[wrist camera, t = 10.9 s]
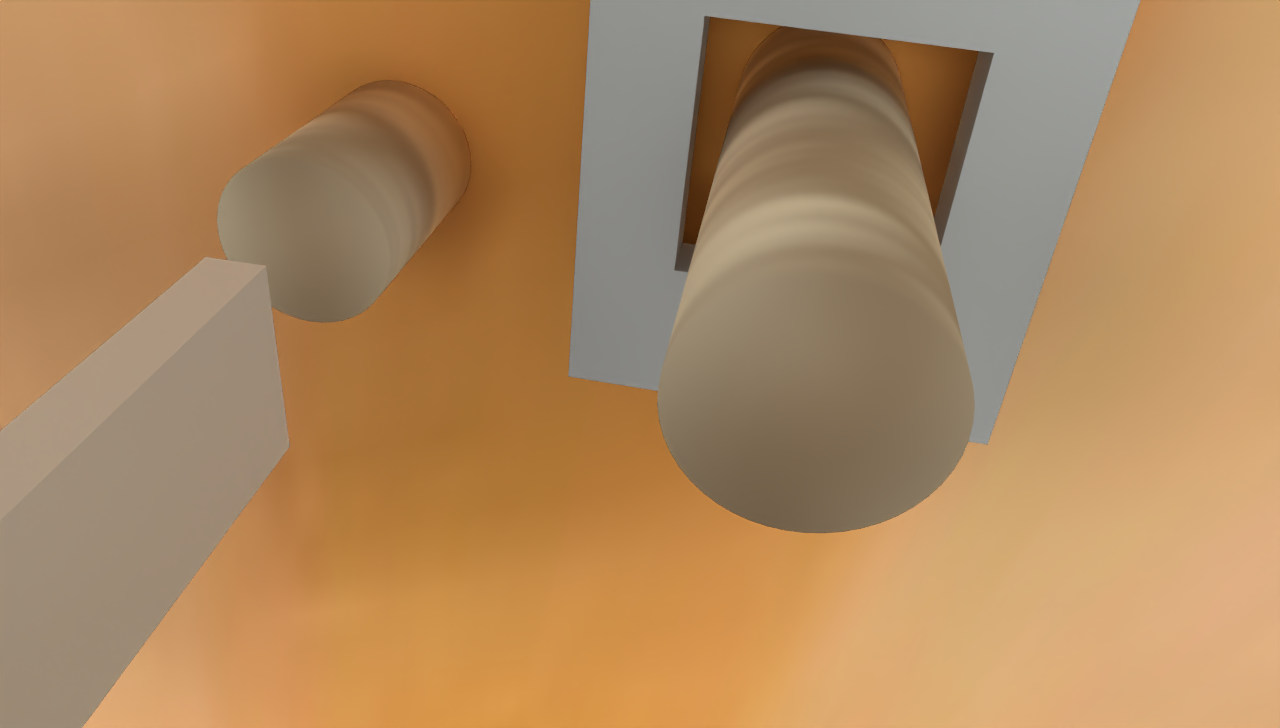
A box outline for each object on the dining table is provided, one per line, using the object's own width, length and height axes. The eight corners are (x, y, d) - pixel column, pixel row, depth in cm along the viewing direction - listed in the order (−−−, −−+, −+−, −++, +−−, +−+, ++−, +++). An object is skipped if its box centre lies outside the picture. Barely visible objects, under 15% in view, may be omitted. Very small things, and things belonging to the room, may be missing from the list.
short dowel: (336, 210, 28) (229, 308, 23) (324, 70, 26) (204, 144, 21) (471, 230, 28) (393, 334, 23) (470, 91, 26) (384, 171, 21)
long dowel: (727, 164, 26) (644, 505, 14) (750, 5, 24) (675, 249, 12) (881, 186, 25) (930, 555, 14) (919, 27, 23) (1015, 300, 11)
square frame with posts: (607, 283, 28) (568, 376, 24) (644, -199, 22) (601, -189, 17) (962, 338, 27) (987, 444, 23) (1111, -148, 21) (1183, -125, 17)
